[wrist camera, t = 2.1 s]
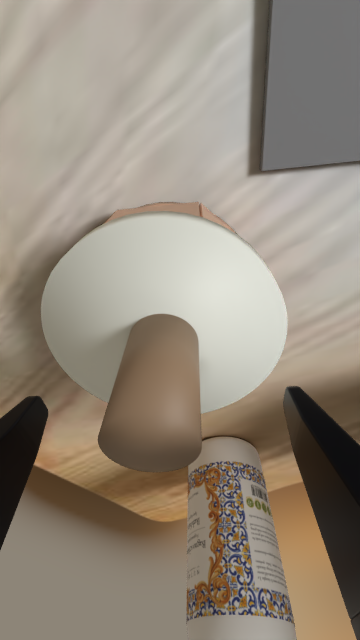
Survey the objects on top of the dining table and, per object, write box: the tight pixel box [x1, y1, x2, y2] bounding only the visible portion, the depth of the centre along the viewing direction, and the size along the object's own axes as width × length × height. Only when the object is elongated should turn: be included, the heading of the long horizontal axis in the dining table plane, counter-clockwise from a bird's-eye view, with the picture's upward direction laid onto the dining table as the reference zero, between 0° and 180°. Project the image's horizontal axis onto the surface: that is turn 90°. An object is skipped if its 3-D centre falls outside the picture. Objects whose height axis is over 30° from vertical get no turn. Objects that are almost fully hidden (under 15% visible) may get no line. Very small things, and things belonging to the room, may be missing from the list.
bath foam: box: [187, 437, 297, 640], centre depth 19 cm, size 7×7×20 cm
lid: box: [41, 211, 288, 472], centre depth 11 cm, size 11×11×6 cm
